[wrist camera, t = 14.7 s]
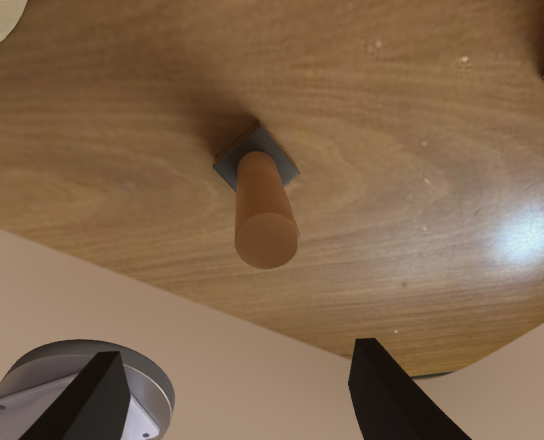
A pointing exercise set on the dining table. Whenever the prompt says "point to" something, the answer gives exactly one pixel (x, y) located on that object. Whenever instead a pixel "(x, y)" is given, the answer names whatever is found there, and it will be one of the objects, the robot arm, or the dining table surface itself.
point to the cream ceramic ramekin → (10, 15)
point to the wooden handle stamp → (260, 197)
